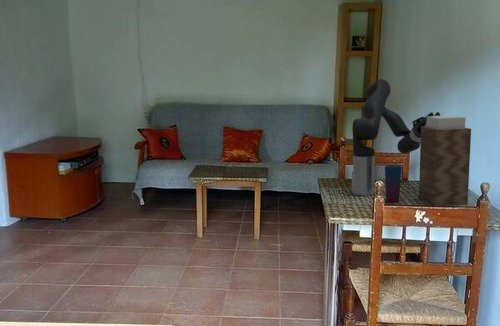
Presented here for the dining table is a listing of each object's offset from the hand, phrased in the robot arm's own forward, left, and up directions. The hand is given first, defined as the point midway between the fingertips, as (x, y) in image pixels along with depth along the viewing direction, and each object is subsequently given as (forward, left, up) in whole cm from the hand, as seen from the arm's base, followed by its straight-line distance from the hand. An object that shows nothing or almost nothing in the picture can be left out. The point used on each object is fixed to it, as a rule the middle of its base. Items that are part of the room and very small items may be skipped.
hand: (435, 114), depth 194 cm
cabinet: (0, -9, -35) cm, 36 cm away
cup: (-20, -7, -35) cm, 41 cm away
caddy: (0, -4, -6) cm, 8 cm away
